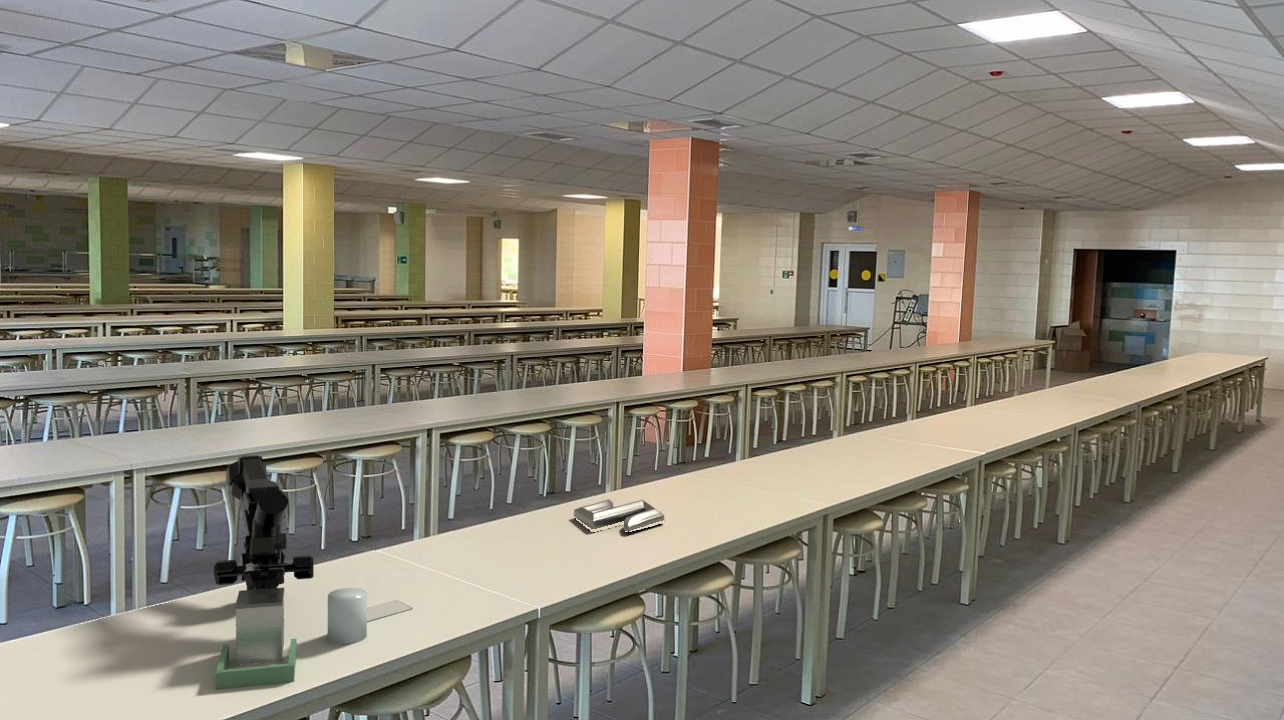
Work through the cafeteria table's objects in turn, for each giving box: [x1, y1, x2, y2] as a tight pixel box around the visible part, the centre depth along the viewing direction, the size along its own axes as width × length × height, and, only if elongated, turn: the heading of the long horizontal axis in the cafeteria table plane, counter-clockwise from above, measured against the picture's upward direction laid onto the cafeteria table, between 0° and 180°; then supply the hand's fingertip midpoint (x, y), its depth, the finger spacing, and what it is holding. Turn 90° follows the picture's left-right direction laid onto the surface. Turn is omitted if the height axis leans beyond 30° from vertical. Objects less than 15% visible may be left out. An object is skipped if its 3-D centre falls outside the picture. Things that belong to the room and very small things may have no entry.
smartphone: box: [367, 600, 413, 623], centre depth 200 cm, size 7×1×15 cm
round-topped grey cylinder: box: [327, 587, 368, 645], centre depth 186 cm, size 8×8×9 cm
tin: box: [234, 587, 285, 666], centre depth 177 cm, size 8×8×12 cm
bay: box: [214, 638, 297, 690], centre depth 170 cm, size 12×13×3 cm
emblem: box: [573, 499, 665, 532], centre depth 279 cm, size 28×5×28 cm
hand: (263, 608), depth 183 cm, fingers closed
